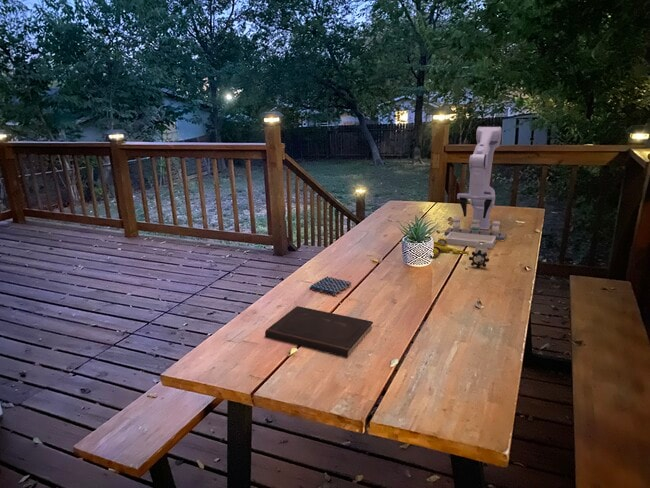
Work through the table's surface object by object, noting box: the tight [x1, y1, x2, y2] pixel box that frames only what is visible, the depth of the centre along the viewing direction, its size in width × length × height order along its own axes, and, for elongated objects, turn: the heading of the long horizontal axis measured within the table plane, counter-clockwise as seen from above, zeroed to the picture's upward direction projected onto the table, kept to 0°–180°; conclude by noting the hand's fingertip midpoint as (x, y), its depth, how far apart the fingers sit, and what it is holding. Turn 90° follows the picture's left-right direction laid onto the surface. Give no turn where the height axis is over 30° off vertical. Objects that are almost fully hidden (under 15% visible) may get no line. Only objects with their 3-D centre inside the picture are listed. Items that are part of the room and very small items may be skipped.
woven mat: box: [309, 276, 352, 297], centre depth 144 cm, size 10×11×2 cm
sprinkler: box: [433, 238, 470, 258], centre depth 173 cm, size 19×4×15 cm
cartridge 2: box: [491, 220, 501, 236], centre depth 188 cm, size 3×3×7 cm
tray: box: [444, 232, 497, 250], centre depth 183 cm, size 10×18×2 cm, turn 63°
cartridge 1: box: [452, 217, 461, 232], centre depth 195 cm, size 3×3×7 cm
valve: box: [468, 241, 490, 269], centre depth 161 cm, size 7×7×12 cm
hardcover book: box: [264, 305, 374, 358], centre depth 116 cm, size 16×23×2 cm
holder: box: [444, 227, 507, 241], centre depth 192 cm, size 7×24×2 cm, turn 63°
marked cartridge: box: [471, 218, 480, 234], centre depth 191 cm, size 3×3×7 cm
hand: (474, 216), depth 186 cm, fingers open, 7 cm apart
